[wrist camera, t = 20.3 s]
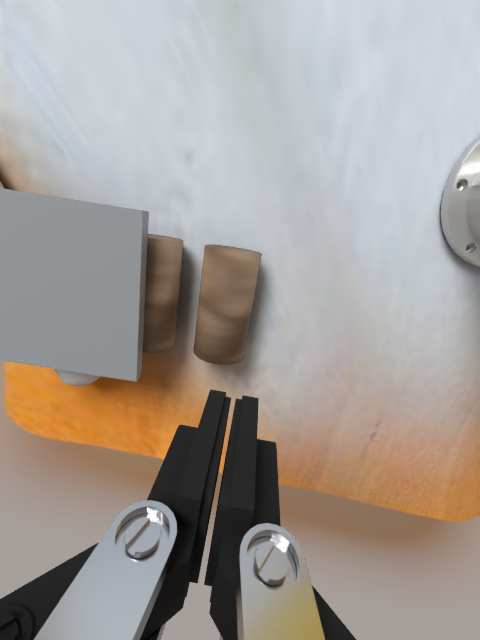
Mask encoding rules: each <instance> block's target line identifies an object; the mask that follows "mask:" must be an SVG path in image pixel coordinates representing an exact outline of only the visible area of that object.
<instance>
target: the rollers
mask: <svg viewBox="0 0 480 640" xmlns="http://www.w3.org/2000/svg"><path fill="white" fill-rule="evenodd" d="M182 252H183V240H180V239H177V238H172V237H166V236H160V235H153V234H148V240H147V263H146V286H145V309H144V332H143V352H145V353H153V352H161V351H165V350H168V349H170V348H172V347H173V346H174V344H175V336H176V324H177V312H178V300H179V288H180V276H181V264H182ZM261 255H262V254H261V253H259V252H255V251H251V250H247V249H241V248H235V247H229V246H221V245H205V248H204V258H203V267H202V276H201V286H200V295H199V304H198V313H197V323H196V332H195V341H194V354H195V355H196V356H197V357H198V358H200V359H202V360H204V361H206V362H209V363H213V364H220V365H229V364H235V363H238V362H240V361H241V360H242V359H243V358H244V353H245V348H246V342H247V336H248V330H249V324H250V319H251V313H252V307H253V301H254V295H255V290H256V284H257V278H258V272H259V266H260V261H261Z"/></svg>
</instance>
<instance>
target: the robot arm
mask: <svg viewBox="0 0 480 640" xmlns="http://www.w3.org/2000/svg"><path fill="white" fill-rule="evenodd" d="M441 222H442V228H443V232H444V235H445V237H446V240H447V242H448V244H449V245H450V246H451V248H452V249H453V251H454V252H455V253H456V254H457V255H458V256H460V257H461V258H462V259H463V260H464V261H466V262H468V263H470V264H472V265H474V266H478V267H480V136H479V137H478V138H477V139H476V140H475V141H474V142H473V143H472V144H471V145H470V146H469V147H468V148H467V149H466V151H465V152H464V153H463V154H462V156H461V157H460V158H459V160H458V161H457V163H456V165H455V166H454V168H453V170H452V172H451V173H450V176H449V178H448V181H447V183H446V186H445V188H444V193H443V198H442V202H441ZM225 396H226V392H221V391H216V390H210V393H209V396H208V399H207V402H206V405H205V408H204V411H203V414H202V417H201V420H200V423H199V426H198V428H195V427H190V426H185V425H179V426H178V428H177V431H176V433H175V435H174V438H173V440H172V442H171V445H170V447H169V450H168V452H167V454H166V457H165V459H164V461H163V464H162V466H161V468H160V471H159V473H158V476H157V478H156V480H155V483H154V485H153V487H152V490H151V492H150V494H149V497H148V499H147V501H140V502H138V503H135V504H132V505H130V506H129V507H127V508H126V509H125V510H123V511H122V512H121V513H120V514H119V515H118V516H117V517H116V519H115V520H114V521H113V522H112V524H111V525H110V527H109V528H108V530H107V531H106V533H105V535H104V536H103V538H102V539H101V540H100V542H99V543H97V544H95V545H94V546H92V547H90V548H88V549H87V550H85V551H83V552H81V553H80V554H78V555H76V556H74V557H73V558H71V559H69V560H67V561H66V562H64V563H62V564H61V565H59V566H57V567H55V568H54V569H52V570H50V571H48V572H47V573H45V574H43V575H41V576H40V577H38V578H36V579H34V580H33V581H31V582H29V583H28V584H26V585H24V586H22V587H21V588H19V589H17V590H15V591H14V592H12V593H10V594H9V595H7V596H5V597H3V598H1V599H0V640H160V639H161V636H162V634H163V631H164V628H165V624H166V622H167V621H168V620H169V619H170V618H172V617H173V616H174V615H175V614H176V613H177V612H178V611H180V610H181V609H182V608H183V604H184V600H185V597H186V596H187V592H188V587H189V582H194V583H198V577H199V572H200V567H201V562H202V557H203V551H204V546H205V541H206V535H207V530H208V524H209V519H210V514H211V508H212V502H213V498H214V492H215V487H216V482H217V476H218V471H219V465H220V460H221V454H222V448H223V442H224V437H225V431H226V425H227V419H228V413H229V408H230V402H231V398H230V397H225ZM257 423H258V398H254V397H249V396H243V397H242V400H241V399H236V402H235V408H234V413H233V419H232V424H231V430H230V435H229V441H228V447H227V452H226V458H225V463H224V469H223V475H222V481H221V488H220V493H219V499H218V505H217V511H216V517H215V523H214V529H213V535H212V541H211V547H210V553H209V559H208V565H207V571H206V577H205V583H204V585H208V586H212V591H211V598H210V602H211V606H210V615H211V617H212V619H213V621H214V623H215V625H216V627H217V628H218V630H219V632H220V640H356V639H355V638H354V636H353V635H352V634H351V633H350V631H349V630H348V629H347V628H346V626H345V625H344V624H343V623H342V622H341V620H340V619H339V618H338V617H337V615H336V614H335V613H334V612H333V610H332V609H331V608H330V607H329V605H328V604H327V603H326V602H325V601H324V599H323V598H322V597H321V596H320V594H319V593H318V592H317V591H316V589H315V588H314V587H313V586H312V585H311V580H310V576H309V572H308V568H307V564H306V560H305V557H304V554H303V551H302V549H301V547H300V545H299V544H298V542H297V541H296V539H295V538H294V537H293V536H292V535H291V534H290V533H289V532H288V531H287V530H286V529H284V528H282V527H280V509H279V489H278V470H277V450H276V443H275V442H270V441H265V440H259V439H257Z"/></svg>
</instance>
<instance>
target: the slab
mask: <svg viewBox="0 0 480 640" xmlns="http://www.w3.org/2000/svg"><path fill="white" fill-rule="evenodd" d="M148 217H149V212H147V211H141V210H135V209H128V208H122V207H116V206H110V205H103V204H97V203H91V202H85V201H78V200H72V199H66V198H60V197H53V196H47V195H41V194H35V193H28V192H22V191H16V190H10V189H3V188H0V360H2V361H8V362H14V363H21V364H27V365H33V366H40V367H46V368H52V369H59V370H65V371H71V372H78V373H84V374H90V375H97V376H103V377H109V378H116V379H122V380H128V381H135V382H137V380H138V379H139V378H140V376H141V375H142V355H143V332H144V309H145V286H146V263H147V240H148Z"/></svg>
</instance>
